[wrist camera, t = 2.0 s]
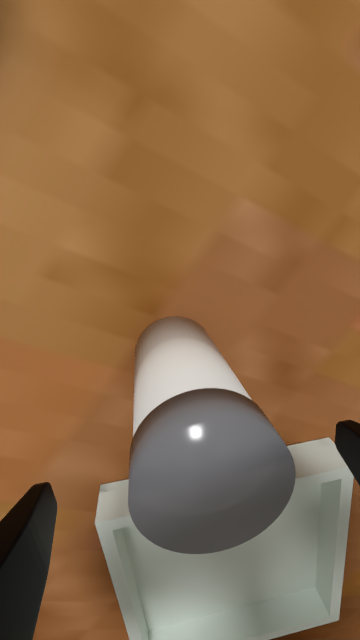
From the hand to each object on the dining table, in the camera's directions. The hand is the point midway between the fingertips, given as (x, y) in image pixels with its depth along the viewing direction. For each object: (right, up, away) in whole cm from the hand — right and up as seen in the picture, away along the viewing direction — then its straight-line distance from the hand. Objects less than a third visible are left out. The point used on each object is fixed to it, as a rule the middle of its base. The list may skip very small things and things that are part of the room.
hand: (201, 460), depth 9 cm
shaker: (-1, +2, +7) cm, 8 cm away
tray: (+3, -12, +13) cm, 18 cm away
